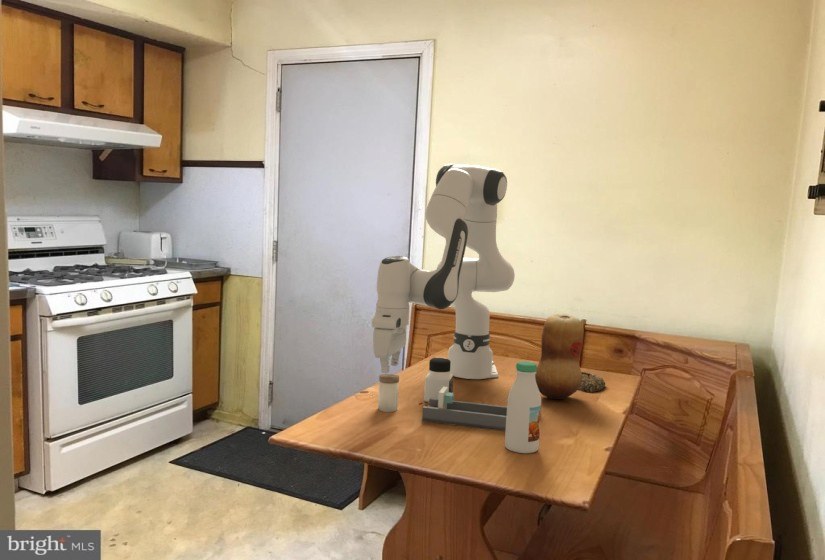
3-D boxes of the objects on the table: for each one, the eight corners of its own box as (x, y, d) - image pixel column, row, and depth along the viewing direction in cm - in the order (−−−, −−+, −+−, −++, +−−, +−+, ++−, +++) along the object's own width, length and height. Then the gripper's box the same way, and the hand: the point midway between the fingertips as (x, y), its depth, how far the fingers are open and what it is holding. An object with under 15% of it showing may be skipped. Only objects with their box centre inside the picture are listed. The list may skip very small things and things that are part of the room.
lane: (429, 410, 173) (430, 381, 172) (519, 421, 167) (521, 391, 166) (422, 421, 164) (423, 390, 163) (516, 432, 159) (518, 400, 158)
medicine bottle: (448, 404, 180) (450, 362, 179) (423, 401, 181) (425, 360, 180) (452, 397, 187) (454, 357, 186) (428, 395, 188) (430, 355, 187)
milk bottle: (516, 455, 143) (521, 368, 141) (498, 444, 150) (503, 360, 148) (545, 452, 146) (550, 366, 144) (526, 440, 153) (531, 358, 151)
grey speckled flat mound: (610, 387, 207) (611, 372, 206) (593, 395, 197) (594, 379, 197) (573, 380, 215) (574, 365, 214) (556, 386, 206) (557, 371, 205)
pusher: (442, 409, 171) (443, 386, 170) (454, 411, 170) (455, 387, 169) (437, 416, 165) (438, 392, 164) (449, 417, 164) (451, 393, 163)
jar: (381, 405, 176) (382, 373, 175) (400, 407, 175) (401, 375, 174) (375, 410, 171) (376, 377, 170) (394, 413, 170) (396, 379, 169)
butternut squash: (560, 407, 181) (566, 320, 179) (524, 396, 191) (529, 313, 189) (590, 400, 190) (596, 317, 188) (553, 389, 200) (558, 310, 198)
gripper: (391, 312, 181) (389, 360, 182) (369, 321, 161) (367, 375, 162) (412, 313, 180) (410, 362, 181) (393, 323, 160) (391, 378, 161)
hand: (390, 368), depth 171 cm, fingers open, 8 cm apart
